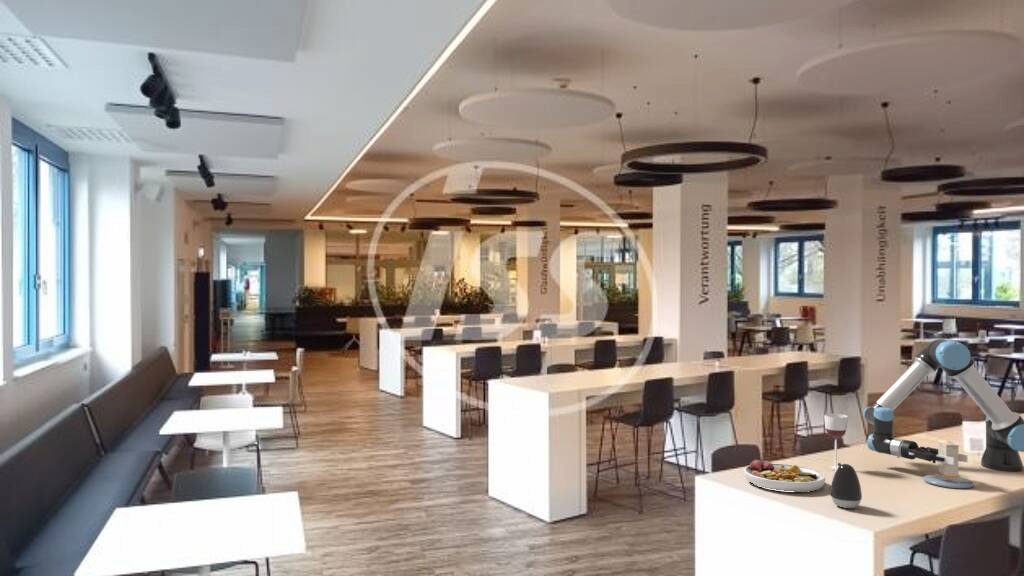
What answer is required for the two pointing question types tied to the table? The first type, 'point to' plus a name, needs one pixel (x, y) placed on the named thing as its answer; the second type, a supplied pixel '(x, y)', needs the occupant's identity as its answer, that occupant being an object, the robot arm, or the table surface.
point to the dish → (948, 481)
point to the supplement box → (950, 451)
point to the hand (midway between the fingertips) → (960, 460)
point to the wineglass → (836, 428)
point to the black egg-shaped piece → (846, 487)
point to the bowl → (784, 476)
